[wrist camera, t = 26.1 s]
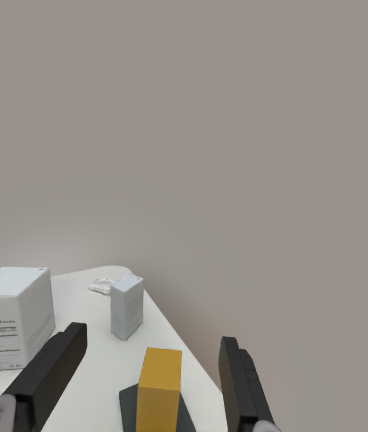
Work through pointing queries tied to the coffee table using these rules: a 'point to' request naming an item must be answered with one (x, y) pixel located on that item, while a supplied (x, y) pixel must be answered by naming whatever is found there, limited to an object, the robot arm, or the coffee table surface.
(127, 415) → the rubber mat
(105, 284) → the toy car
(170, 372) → the mustard block
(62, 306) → the coffee table surface
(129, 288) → the cosmetic box
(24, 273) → the rectangular carton
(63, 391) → the robot arm
